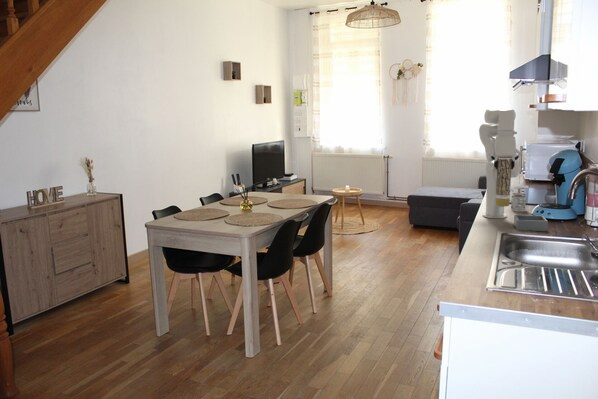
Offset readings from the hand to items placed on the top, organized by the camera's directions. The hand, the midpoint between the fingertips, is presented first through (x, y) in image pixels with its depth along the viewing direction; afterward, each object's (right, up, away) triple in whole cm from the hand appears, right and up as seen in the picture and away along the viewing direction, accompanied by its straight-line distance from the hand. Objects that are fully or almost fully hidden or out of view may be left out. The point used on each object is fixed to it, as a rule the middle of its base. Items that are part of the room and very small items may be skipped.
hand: (504, 168), depth 251 cm
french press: (+26, -22, +43) cm, 55 cm away
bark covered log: (+1, -19, +3) cm, 19 cm away
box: (+12, -30, -3) cm, 32 cm away
